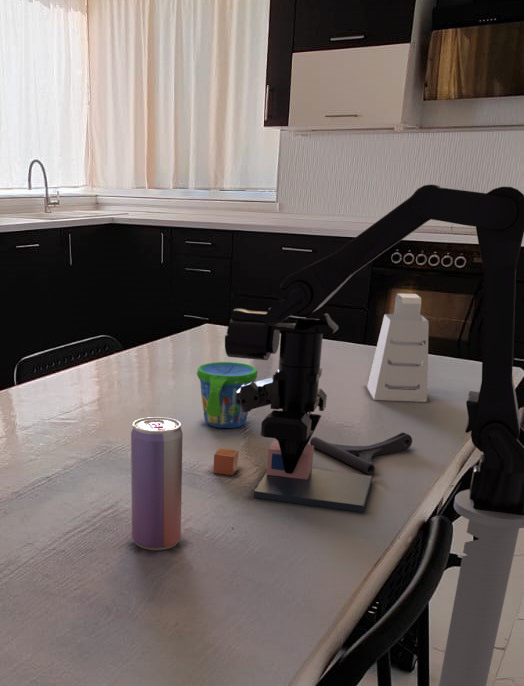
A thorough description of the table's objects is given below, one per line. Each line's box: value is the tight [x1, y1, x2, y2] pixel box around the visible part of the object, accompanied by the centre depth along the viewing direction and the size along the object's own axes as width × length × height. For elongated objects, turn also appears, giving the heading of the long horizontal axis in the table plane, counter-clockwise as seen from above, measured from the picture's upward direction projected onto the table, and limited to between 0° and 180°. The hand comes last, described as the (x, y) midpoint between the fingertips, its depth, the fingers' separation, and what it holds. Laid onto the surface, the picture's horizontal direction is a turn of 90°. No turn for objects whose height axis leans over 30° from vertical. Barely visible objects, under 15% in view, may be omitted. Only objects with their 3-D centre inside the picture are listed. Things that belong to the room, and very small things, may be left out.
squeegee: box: [309, 432, 413, 475], centre depth 125 cm, size 14×15×3 cm
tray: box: [253, 468, 373, 513], centre depth 110 cm, size 15×12×1 cm
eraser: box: [266, 440, 315, 480], centre depth 113 cm, size 6×4×4 cm
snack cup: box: [196, 361, 258, 429], centre depth 138 cm, size 16×10×10 cm
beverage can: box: [130, 416, 184, 552], centre depth 91 cm, size 6×6×15 cm
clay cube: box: [213, 448, 239, 476], centre depth 117 cm, size 3×3×3 cm
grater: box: [366, 293, 430, 403], centre depth 156 cm, size 10×10×20 cm
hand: (291, 468), depth 114 cm, fingers closed on eraser, 4 cm apart
